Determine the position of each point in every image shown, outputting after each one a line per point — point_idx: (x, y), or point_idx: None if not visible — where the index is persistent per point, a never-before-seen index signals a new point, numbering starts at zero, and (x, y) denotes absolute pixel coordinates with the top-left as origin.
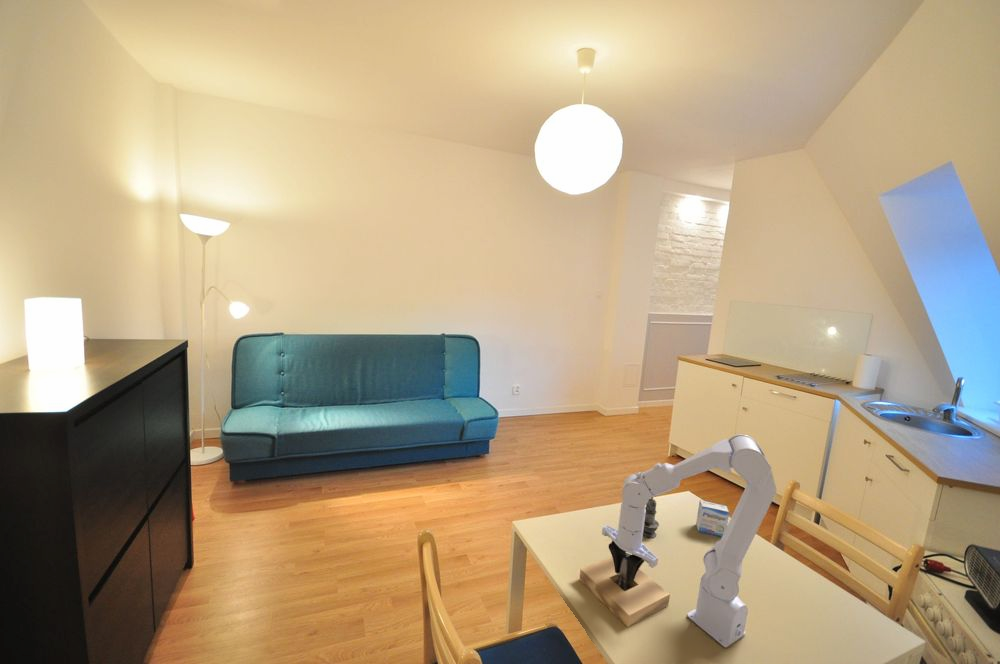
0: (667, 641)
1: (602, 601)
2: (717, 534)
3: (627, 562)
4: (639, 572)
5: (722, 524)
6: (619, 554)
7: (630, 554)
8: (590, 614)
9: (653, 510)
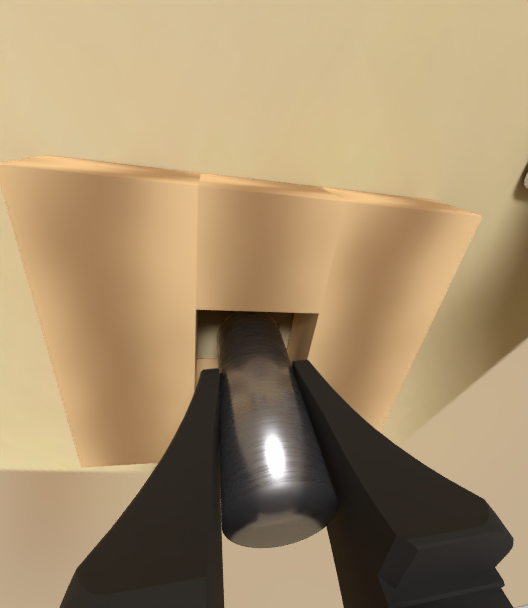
0: (465, 350)
1: None
2: None
3: (340, 578)
4: (261, 222)
5: None
6: (219, 549)
7: (275, 487)
8: None
9: None
